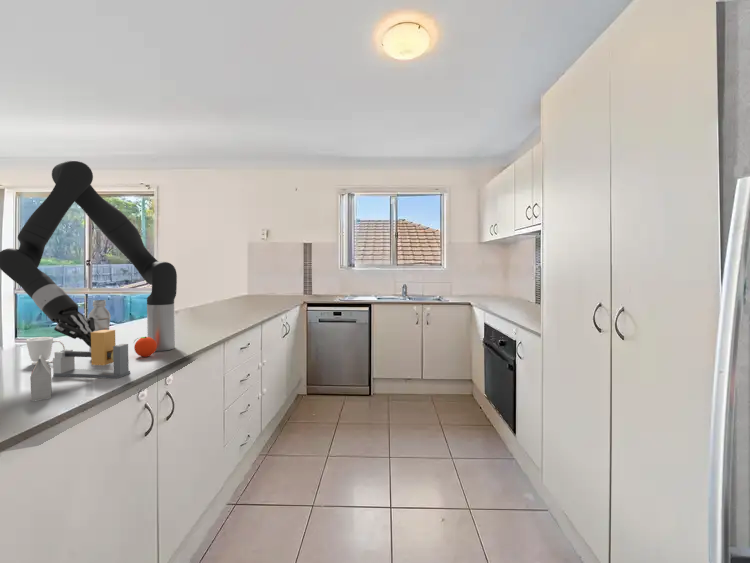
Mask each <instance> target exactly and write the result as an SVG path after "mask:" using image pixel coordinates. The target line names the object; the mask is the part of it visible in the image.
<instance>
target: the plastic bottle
mask: <svg viewBox="0 0 750 563" xmlns="http://www.w3.org/2000/svg"><path fill="white" fill-rule="evenodd" d="M106 302H107V301H106V299H97V300H93V301H92V307H93V308H92V309H91V311H90V312H89V313H88V316H87V318H90V317H93V318H94V324H95V330H94V331H93V332H95V331H99V330H110V325H111V318H112V317H111V316H112V315H111V313H110V311H109V310H108V309H107V307H106V306H107V303H106ZM88 352H91V347H89V349H88Z"/></svg>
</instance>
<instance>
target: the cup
mask: <svg viewBox="0 0 750 563" xmlns="http://www.w3.org/2000/svg"><path fill="white" fill-rule="evenodd" d="M25 343H26V348H27V351H28V355H29V357H30V358H29V359H31V360H30V361H32V363H31V365H33V366H35V365H36V363H37V362H38V359H39V356H40V354H42V356H43V358H44V359H45V361H46V362H47V364H48V362H50V363H53V359H52V360H50V358H51V355H52V348H53V343H59V344H60V345H62V348H63V349H62V350H66V346H65V344H64V343H63V341H61V340H58V339H57V340H55V339H54V337H52V336H38V337H31V338H27V339H26V340H25ZM49 360H50V361H49Z"/></svg>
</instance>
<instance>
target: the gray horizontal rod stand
mask: <svg viewBox="0 0 750 563" xmlns="http://www.w3.org/2000/svg"><path fill="white" fill-rule="evenodd" d="M73 350H74V349H65V350H64V349H62V350H60V351H54V352H53V353H54V357H53V358H52V360H53V362H52V369H53V370H52V374H53V377H72V376H77V377H79V378H81V377H82V378H103V377H106V379H107V378H109V379H120V378H122V377H125V376H128V375H129V374H131V370H130V369H129V344H128V343H120V344H117V345H116V344H115V346H113V351H112V352H107V358H111V359H112V360H113V363H112V365H113V369H89V368H87V369H86V368H85V369H84V368H76V367H75V366H76V365H75V358H91V352H89V351H79V350H77V351H76V350H75V351H73Z"/></svg>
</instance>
